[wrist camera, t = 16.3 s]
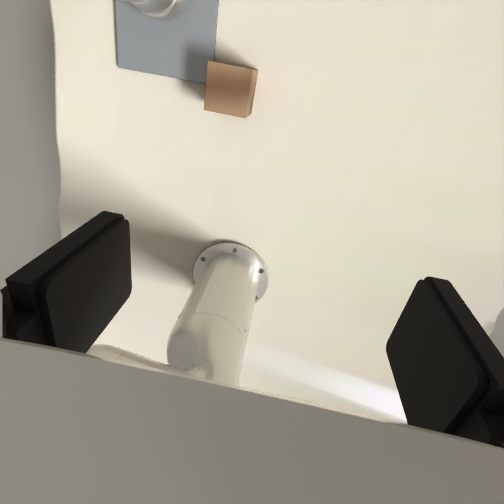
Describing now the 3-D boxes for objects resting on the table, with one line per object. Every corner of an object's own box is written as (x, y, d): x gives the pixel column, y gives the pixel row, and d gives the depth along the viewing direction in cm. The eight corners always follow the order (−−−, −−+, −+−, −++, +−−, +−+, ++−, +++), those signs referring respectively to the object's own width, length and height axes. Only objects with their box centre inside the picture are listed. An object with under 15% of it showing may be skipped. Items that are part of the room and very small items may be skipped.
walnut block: (251, 113, 42) (245, 118, 38) (213, 105, 42) (203, 109, 38) (258, 70, 40) (252, 69, 35) (218, 62, 40) (207, 60, 35)
